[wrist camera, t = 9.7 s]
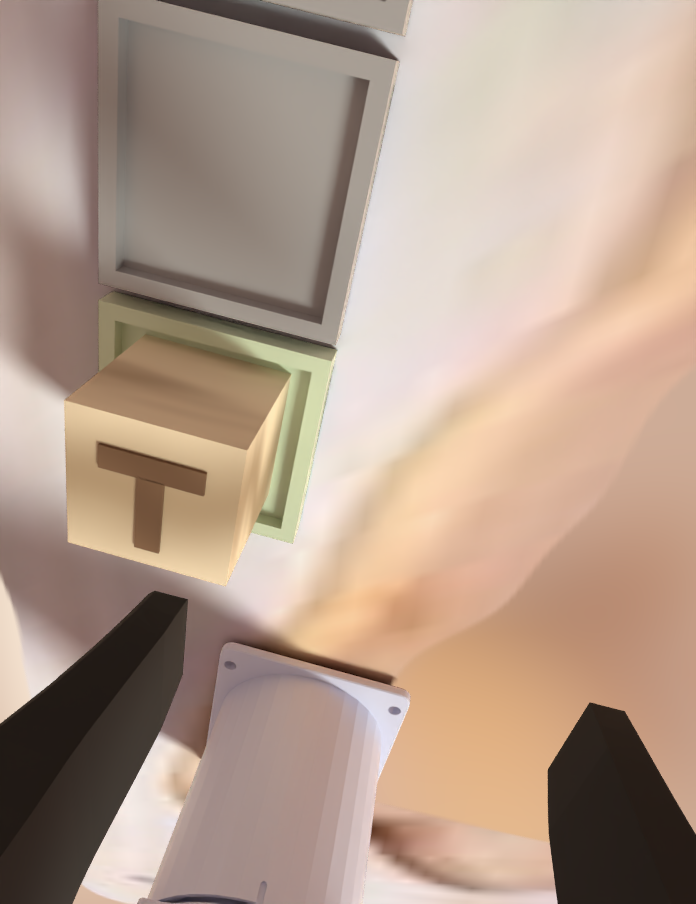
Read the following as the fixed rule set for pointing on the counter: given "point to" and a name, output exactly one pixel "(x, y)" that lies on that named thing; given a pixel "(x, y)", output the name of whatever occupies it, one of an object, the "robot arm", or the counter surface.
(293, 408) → the green dish
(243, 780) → the robot arm
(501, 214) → the counter surface
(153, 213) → the middle dish
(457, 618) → the counter surface
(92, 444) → the letter block
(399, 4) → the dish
